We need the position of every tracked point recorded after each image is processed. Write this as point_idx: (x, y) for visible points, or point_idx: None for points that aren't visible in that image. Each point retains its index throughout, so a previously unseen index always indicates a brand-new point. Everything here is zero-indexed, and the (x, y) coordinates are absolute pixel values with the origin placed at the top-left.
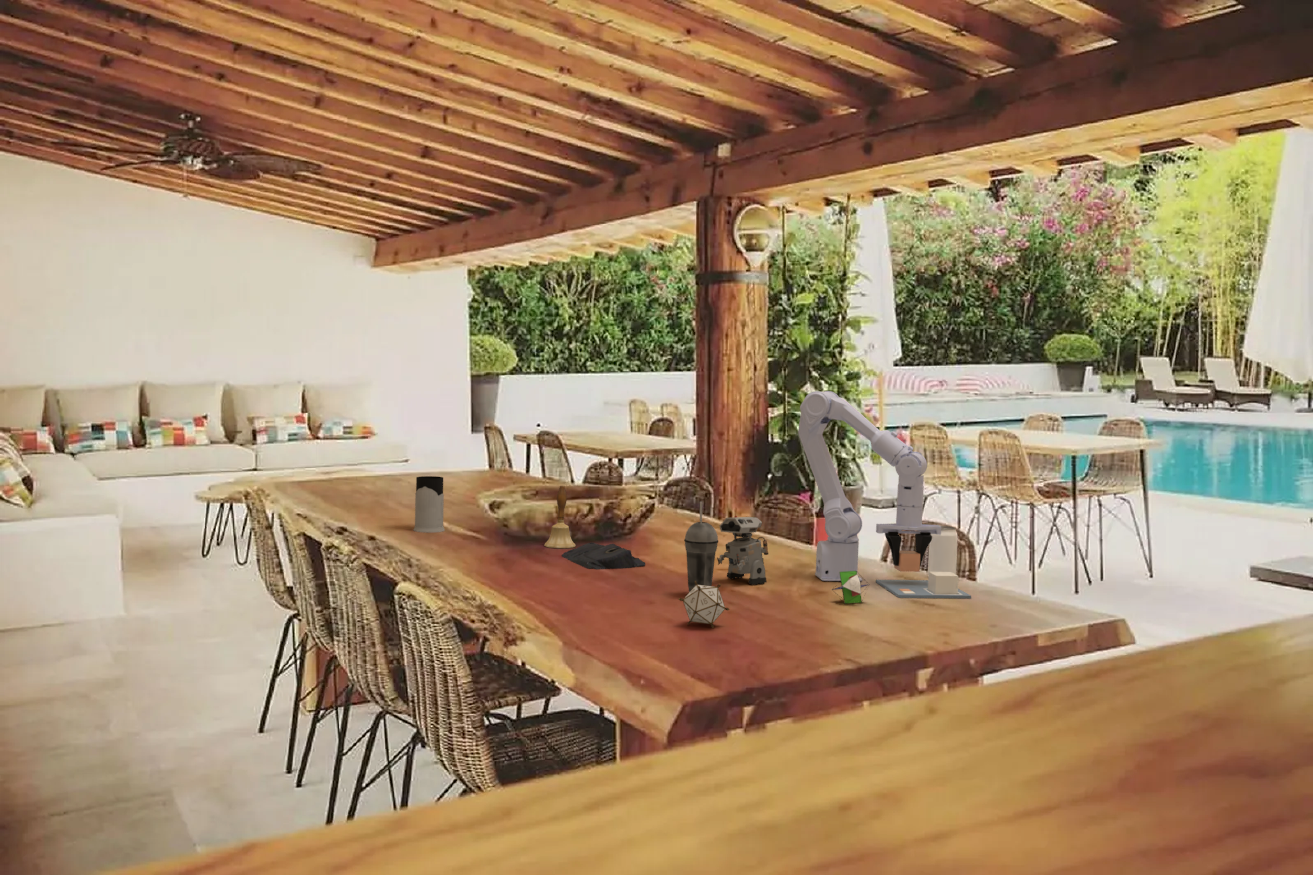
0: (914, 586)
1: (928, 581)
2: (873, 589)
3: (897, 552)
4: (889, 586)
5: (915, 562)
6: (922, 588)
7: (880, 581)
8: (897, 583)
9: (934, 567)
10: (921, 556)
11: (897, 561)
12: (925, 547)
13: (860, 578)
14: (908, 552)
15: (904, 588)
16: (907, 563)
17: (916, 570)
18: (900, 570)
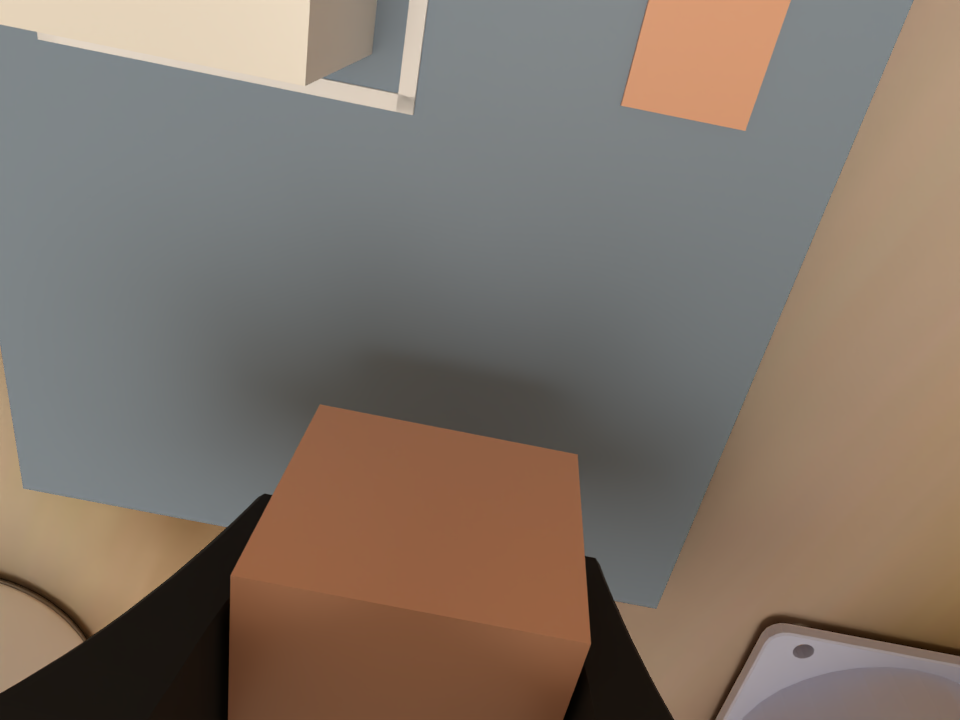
0: (447, 265)
1: (348, 50)
2: (918, 314)
3: (624, 700)
4: (743, 306)
5: (350, 494)
6: (408, 135)
7: (668, 536)
8: (552, 433)
9: None
10: (208, 574)
11: (592, 591)
12: (63, 679)
13: (765, 664)
14: (380, 714)
15: (636, 169)
16: (476, 505)
17: (358, 421)
18: (572, 462)
